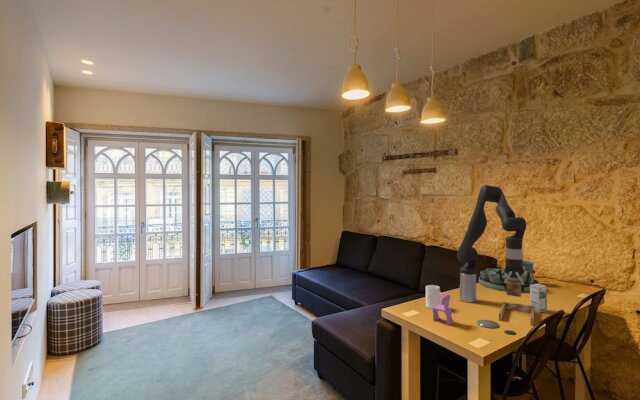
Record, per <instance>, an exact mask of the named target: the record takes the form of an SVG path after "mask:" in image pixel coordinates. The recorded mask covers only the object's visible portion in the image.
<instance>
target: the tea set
mask: <svg viewBox="0 0 640 400" xmlns="http://www.w3.org/2000/svg"><path fill="white" fill-rule="evenodd" d="M534 263H535V262H534V261H531V260H525V259H523V270H524V271H527V272H528V271H530V277H529V283H528V284H525V285H524V291H523V292H522V293H530V285H533V284H541V285H543V284H542V282H540V281H538V280H537V279H535V278H534ZM499 269H500V268H493V267H492V268H491V267H490V268H489V267H487V268H485V269H484V270H481V271H480V272H479V273H480V276H479V277H478V284H480V285H482V286H484V287H485V288H489V289H492V290H496V291H501V292H502V291H503V292H507V291H506V289H504V282H502V281H500V277H499V271H498V270H499ZM501 269H505V267H504V268H501ZM502 275H503V279H506V277H507V274H506V272H505V271H504V272H503V273H502ZM521 277H522V279H523V281H526V277H527V276H525V273H523V274H522V275H521ZM508 280H511V281H519V279H517V278H509V279H508Z"/></svg>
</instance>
